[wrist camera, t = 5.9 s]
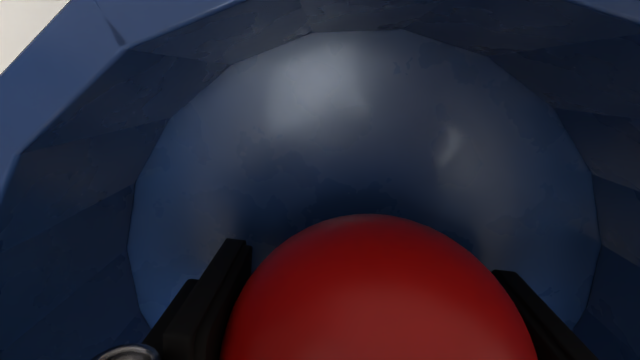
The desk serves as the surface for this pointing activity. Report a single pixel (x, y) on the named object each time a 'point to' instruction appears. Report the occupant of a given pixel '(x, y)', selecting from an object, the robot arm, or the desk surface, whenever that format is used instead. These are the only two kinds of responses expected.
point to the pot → (315, 151)
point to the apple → (374, 298)
